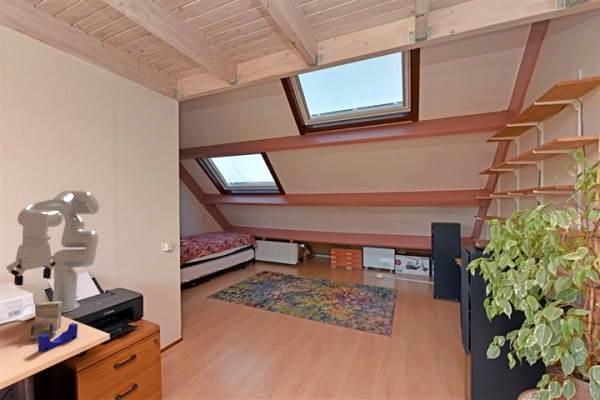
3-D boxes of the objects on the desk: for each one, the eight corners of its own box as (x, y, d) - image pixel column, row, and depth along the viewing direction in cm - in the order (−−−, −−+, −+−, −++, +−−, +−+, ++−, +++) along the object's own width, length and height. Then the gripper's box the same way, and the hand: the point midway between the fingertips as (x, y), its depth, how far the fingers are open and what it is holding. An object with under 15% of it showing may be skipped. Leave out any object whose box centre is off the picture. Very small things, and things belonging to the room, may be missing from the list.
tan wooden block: (38, 329, 120) (39, 302, 120) (60, 327, 123) (61, 301, 123) (34, 332, 117) (35, 305, 118) (56, 330, 120) (58, 303, 120)
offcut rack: (35, 336, 114) (36, 322, 114) (55, 334, 116) (56, 320, 116) (29, 341, 110) (30, 326, 110) (50, 339, 113) (51, 325, 113)
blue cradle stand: (69, 336, 116) (70, 322, 116) (77, 338, 115) (77, 324, 115) (35, 350, 104) (36, 335, 105) (43, 352, 103) (44, 337, 103)
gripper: (51, 237, 121) (50, 275, 121) (1, 243, 104) (-1, 286, 104) (64, 238, 119) (62, 276, 119) (15, 244, 102) (13, 289, 102)
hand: (33, 281), depth 111 cm, fingers open, 9 cm apart
